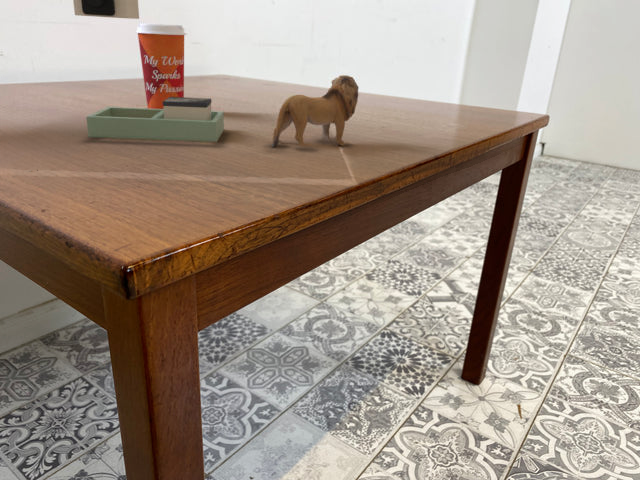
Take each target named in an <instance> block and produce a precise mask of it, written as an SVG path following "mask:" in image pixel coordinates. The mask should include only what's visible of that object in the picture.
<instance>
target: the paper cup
mask: <svg viewBox="0 0 640 480" xmlns="http://www.w3.org/2000/svg"><path fill="white" fill-rule="evenodd" d="M135 33H137V38H138V47H139V53H140V54H139V55H140V61H141V69H142V76H143V85H144V91H145V98H146V106H147V108H148V109H164V106H163V101H164V100H166V99H167V98H169V97H185V36H187V35H188V33H186V32H185V28H184V27H183V25H178V24H162V23H140V22H139V23H138V24H137V30H135Z"/></svg>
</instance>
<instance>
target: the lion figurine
mask: <svg viewBox="0 0 640 480" xmlns="http://www.w3.org/2000/svg"><path fill="white" fill-rule="evenodd" d="M358 98H359V85H358V84H357V81H356V80H355V79H354V77H353V76H349V75H346V74H345V75H344V74H342V75H339V76H338V77H335V78H334V79H332V80H331V86H330V87H329V88H328V90H327V92H326V93H325V94H324V95H322V96H318V97H311V96H306V95H304V94H295V95H291V96H289V97H288V98H286V99H285V100H284V102H282V105H281V107H280V109H279V111H278V115H277V116H278V117H277V120H276V121H277V122H276V127H275V128H274V129H273V134H272V144H271V148H276V147H278V145H279V144H283V142H282V140H280V136H281V134H282V132H284V131H285V130H286V129H287V128H288V127H290V126H291V125H292V123H293V125H294V128H295V134H294V139H295V141H296V142H297V144H298V145H299V146H301V147H309V146H311V145H310V144H309V143H306V142H305V141H304V133H305V130H306V127H307V125H308V123H309V124H311V125H314V126H322V127H321V128H322V132H321V133H322V134H321V139H323V140H329V139H330V128H331V127H330V126H331V124H334V125H335V137H334V140H335V142H336V144H337V146H342V147H343V146H346V142H345V141H344V140H343V135H344V131H345V128H346V127H345V126H346V122H348V121H349V120H350V118H352V117H353V115H354V114H355V112H356V108H357V105H358Z"/></svg>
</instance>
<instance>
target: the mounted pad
mask: <svg viewBox="0 0 640 480" xmlns="http://www.w3.org/2000/svg"><path fill="white" fill-rule="evenodd" d="M163 106H164V119H180V120H205V121H212V119H211V111H212V98H206V97H205V98H204V97H185V96H184V97H169V98H167V99H166V100H164V101H163Z"/></svg>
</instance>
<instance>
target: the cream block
mask: <svg viewBox="0 0 640 480" xmlns="http://www.w3.org/2000/svg"><path fill="white" fill-rule="evenodd" d="M72 1H73V11H74V16H81V17H94V18H95V17H98V18H112V19H113V18H114V19H115V18H116V19H132V20H138V19H140V11H139V0H114V5H115V14H114V15H113V16H105V15H89V14H84V13H83V11H82V3H81V0H72Z"/></svg>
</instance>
